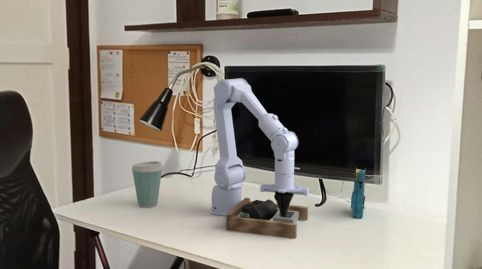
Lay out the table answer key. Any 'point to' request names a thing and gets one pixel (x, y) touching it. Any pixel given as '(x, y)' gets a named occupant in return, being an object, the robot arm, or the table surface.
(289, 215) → the pull tray
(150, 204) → the disposable coffee cup
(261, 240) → the table surface
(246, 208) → the end cap
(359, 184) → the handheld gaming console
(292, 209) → the brown wooden frame
